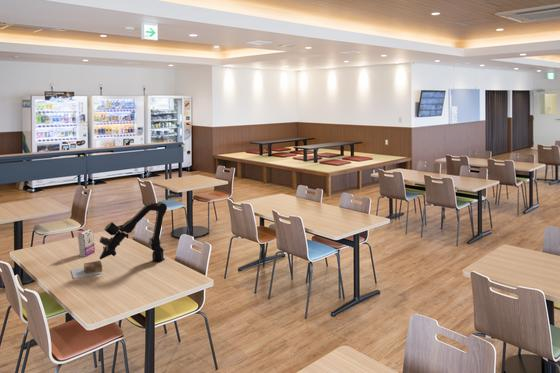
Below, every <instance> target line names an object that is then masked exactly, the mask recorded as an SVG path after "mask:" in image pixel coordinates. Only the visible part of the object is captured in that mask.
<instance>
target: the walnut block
mask: <svg viewBox="0 0 560 373" xmlns="http://www.w3.org/2000/svg"><path fill="white" fill-rule="evenodd" d="M83 268H84V271H85V274H86V273H92V272H98V271H100V272H103V264H102V261H101V260H96V261H90V262H83Z"/></svg>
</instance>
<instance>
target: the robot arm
mask: <svg viewBox="0 0 560 373" xmlns="http://www.w3.org/2000/svg"><path fill="white" fill-rule="evenodd" d="M167 209H168V206H167V204H166V203H165V202H162V201H159V202H154V203H146V204H144V206H143V207H142V208H141V209H140V210H139V211H138V212H137V213H136V214H135V215H134V216H133V217H131V218H130V219H129V220H127V221H125V222H124V223H122V224H120V225H116V224H115V223H114V222H113V221H111V222H110V223H108V224H107V225H106V226H105V228H104V231H105V232H106V233H108V234H109V235H110V236H112V237H110V238H108V237H105V236H100V238H99V243H101V244H102V245H103V246H102V248H103V249H102V253H101V255H100V256H99V260H102V259H105V258H106V257H109V256H113V257H115V256H116V255H117V252H116V249H117V247H119V246H120V245H121V243H122V241H123V240H124V239H125V238H126V239H129V234H131V233H132V232H133V230H134V229H135V228H136V225H137V224H138V223H139V222H141V220H142V219H144V217H145V216H146V215H147V214H148V213H150V212H151V211H152V212H153V211H154V212H155V213H156V216H155V217H156V218H155V222H154V228H153V234H152V237H149V239H148V246H149V248H150V249H151V250H152V254H151V256H152V260H151V262H155V263H162V261H165V260H166V258H164V257H165V256H164V248H163V247H162V246H161V240H160V237H161V232H162V231H161V230H162V225H163V220H164V216H165V215H166V212H167V211H168V210H167Z"/></svg>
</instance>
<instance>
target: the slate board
mask: <svg viewBox="0 0 560 373" xmlns="http://www.w3.org/2000/svg"><path fill="white" fill-rule="evenodd" d="M70 271H71V274H72V278H73V279H79V278H86V277H91V276H98V275H102V271H98V272H92V273H86V274H85V271H84V267H82V268H75V269H70Z"/></svg>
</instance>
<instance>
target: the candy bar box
mask: <svg viewBox="0 0 560 373" xmlns="http://www.w3.org/2000/svg"><path fill="white" fill-rule="evenodd" d="M77 239H78V242H77V243H78V249H79V250H78V251H79V257H82V258H84V257H85V258H86V257H88V256H90V255H92V254H93V253H95V252H96V251H95V250H96V249H95V239H94V230H93V229H85V230H83V231H81V232H79V233H77Z"/></svg>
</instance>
